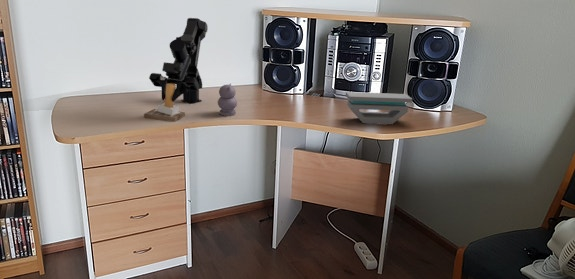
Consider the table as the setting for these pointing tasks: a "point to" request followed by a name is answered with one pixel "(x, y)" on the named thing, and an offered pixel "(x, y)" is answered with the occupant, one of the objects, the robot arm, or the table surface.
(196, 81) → the robot arm
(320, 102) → the table surface
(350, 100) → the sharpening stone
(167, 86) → the rubber stamp
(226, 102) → the grey stacked rounded piece
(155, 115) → the walnut board
